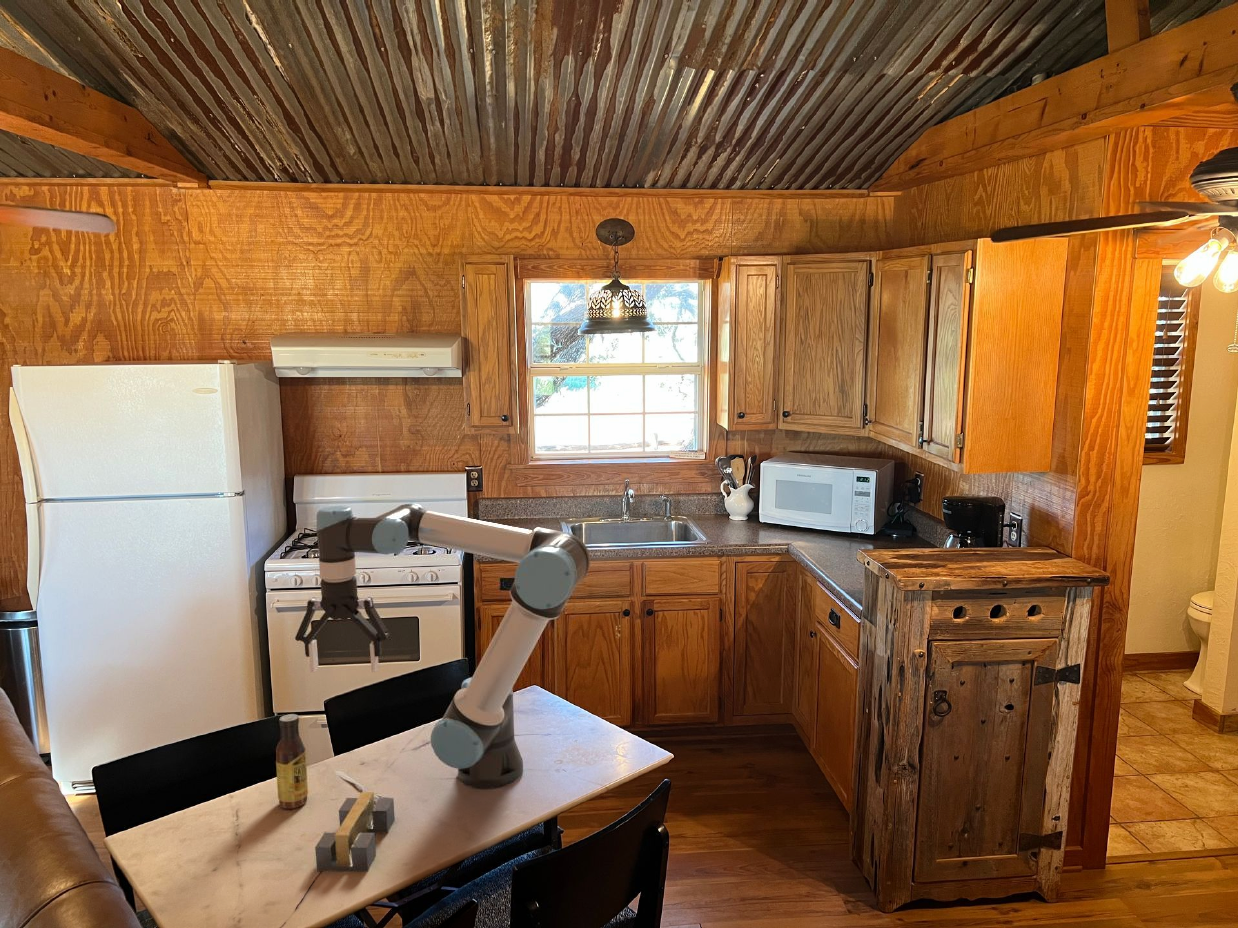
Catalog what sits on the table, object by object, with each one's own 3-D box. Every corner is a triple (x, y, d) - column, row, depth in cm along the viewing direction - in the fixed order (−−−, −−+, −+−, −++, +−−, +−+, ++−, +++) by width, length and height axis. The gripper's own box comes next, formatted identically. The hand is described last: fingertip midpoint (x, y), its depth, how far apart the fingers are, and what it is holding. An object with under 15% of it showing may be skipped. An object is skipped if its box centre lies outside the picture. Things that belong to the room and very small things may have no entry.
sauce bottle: (300, 811, 193) (294, 725, 190) (273, 809, 194) (267, 724, 190) (314, 795, 199) (308, 712, 196) (287, 793, 200) (281, 711, 197)
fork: (337, 766, 213) (337, 759, 213) (389, 803, 196) (389, 796, 196) (325, 771, 211) (324, 764, 211) (376, 809, 194) (376, 801, 194)
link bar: (375, 818, 188) (373, 791, 187) (349, 863, 172) (347, 835, 171) (363, 817, 188) (361, 791, 187) (337, 863, 172) (334, 834, 171)
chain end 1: (394, 819, 189) (393, 797, 188) (387, 832, 184) (386, 810, 183) (348, 819, 189) (346, 797, 189) (340, 832, 184) (338, 810, 184)
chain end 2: (376, 855, 176) (374, 832, 175) (368, 871, 171) (366, 847, 170) (326, 855, 177) (324, 832, 176) (317, 870, 172) (315, 847, 171)
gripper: (399, 572, 197) (405, 663, 200) (289, 572, 198) (296, 663, 201) (389, 581, 189) (395, 676, 193) (274, 582, 190) (282, 676, 194)
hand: (344, 670), depth 197 cm, fingers open, 13 cm apart
